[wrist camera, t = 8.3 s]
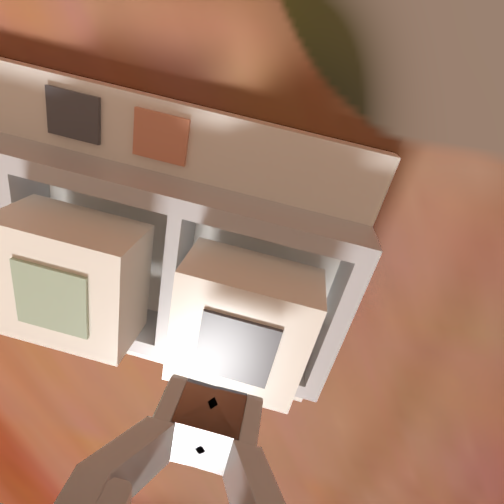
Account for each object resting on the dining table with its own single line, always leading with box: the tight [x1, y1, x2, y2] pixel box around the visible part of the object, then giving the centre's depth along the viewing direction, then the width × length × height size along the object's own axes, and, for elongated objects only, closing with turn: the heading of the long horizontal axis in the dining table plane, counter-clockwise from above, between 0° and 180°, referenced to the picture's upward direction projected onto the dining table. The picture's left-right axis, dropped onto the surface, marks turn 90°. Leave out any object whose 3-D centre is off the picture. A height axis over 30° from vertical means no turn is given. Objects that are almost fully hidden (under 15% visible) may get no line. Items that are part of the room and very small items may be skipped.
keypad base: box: [0, 57, 401, 402], centre depth 18 cm, size 24×15×4 cm, turn 78°
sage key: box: [0, 194, 154, 367], centre depth 15 cm, size 6×6×3 cm
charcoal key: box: [162, 237, 327, 414], centre depth 15 cm, size 6×6×3 cm
